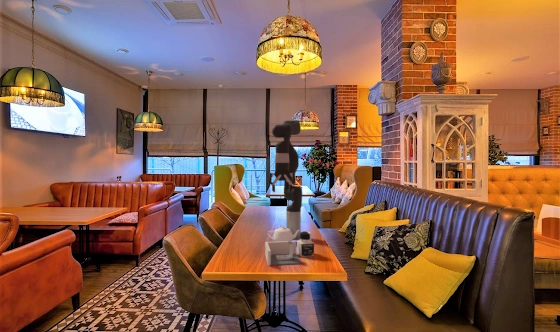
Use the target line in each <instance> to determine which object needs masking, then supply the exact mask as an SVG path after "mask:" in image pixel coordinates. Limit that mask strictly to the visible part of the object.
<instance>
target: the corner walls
mask: <svg viewBox="0 0 560 332" xmlns="http://www.w3.org/2000/svg"><path fill="white" fill-rule="evenodd" d="M288 242H289V241H281V242H274V241H265V243H264V245H265V247H264V251H265V252H264V253H265V254H264V256H265V260H266V263H267V266H268V267H269V266H270V265H271V255H273V254H288ZM291 242H292V244H293V254H296V255H297V241H296V240H292V241H291ZM271 266H272V265H271Z"/></svg>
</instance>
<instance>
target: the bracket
mask: <svg viewBox="0 0 560 332" xmlns="http://www.w3.org/2000/svg"><path fill="white" fill-rule="evenodd" d="M276 260H277V261H287V260H293V244H292V242H291V241H289V242H288V255H276Z"/></svg>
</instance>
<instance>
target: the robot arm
mask: <svg viewBox="0 0 560 332" xmlns="http://www.w3.org/2000/svg"><path fill="white" fill-rule="evenodd" d="M301 127H302V126H301V122H300V121H299V120H296V119H295V120H293V119H292V120H284V121H283V123H282V124H275V125H274V126H273V127H272V129H271V133H272V136H273V137H275V138H276V139H279V138H280V139H282V138H283V140H282V141H280V142H276V144H275V154H274V155H275V157H274V172H269V173H268V184H269V185H271V190H272V191H271V192H273V193H275V192H276V183H278V181H279V182H282V181H283V184H284V185H283V196H284V197H283V198H285V199H286V200H288V201H292V203H291V204H290V205H287V206H286V208H285V209H286V212H285V213H286V219H285V220H286V223H285V224H286V227H285V228H288V229H290V230H291V232H292V235H294V234H295V233H296V231H297V230H300V231H299V232H298V233H297V236H296V237H295V238H294V239H293V240H300V233H301V232H302V229H301V227H302V226H301V225H302V219H301V218H302V212H301V210H302V205H303V204H302V203H303V190H302V187H301V186H296V185H295V184H296V182H297V181H296V172H297V171H298V168H299V163H300V160H299V158H300V157H299V154H298V152H297V150H296V149H295V147H294V146H293V144H292V143H291V137H292V136H298V135H299V134H300V133H301V130H302V129H301ZM273 177H275V178H274V180H273V181H272V178H273Z"/></svg>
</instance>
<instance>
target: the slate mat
mask: <svg viewBox="0 0 560 332" xmlns="http://www.w3.org/2000/svg"><path fill="white" fill-rule="evenodd" d="M276 255H288V254H273V255H271V266H287V265H288V266H290V265H291V266H292V265H302V261H301V260H300V258H299V257H298V256H299V255H297V253H296V254H293V260H287V261H277V260H276Z"/></svg>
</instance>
